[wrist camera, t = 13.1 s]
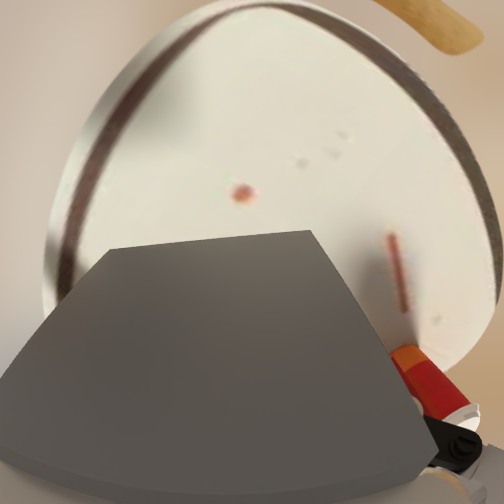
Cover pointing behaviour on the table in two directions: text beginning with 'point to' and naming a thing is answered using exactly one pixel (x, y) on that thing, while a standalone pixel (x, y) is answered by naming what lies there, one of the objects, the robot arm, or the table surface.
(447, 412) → the paper cup
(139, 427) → the grey matte cube
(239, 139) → the table surface
